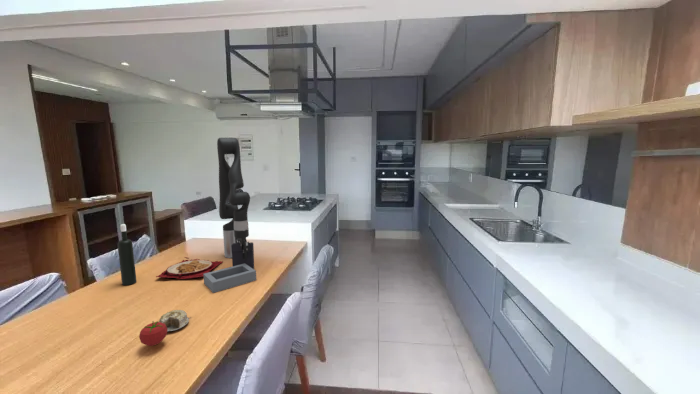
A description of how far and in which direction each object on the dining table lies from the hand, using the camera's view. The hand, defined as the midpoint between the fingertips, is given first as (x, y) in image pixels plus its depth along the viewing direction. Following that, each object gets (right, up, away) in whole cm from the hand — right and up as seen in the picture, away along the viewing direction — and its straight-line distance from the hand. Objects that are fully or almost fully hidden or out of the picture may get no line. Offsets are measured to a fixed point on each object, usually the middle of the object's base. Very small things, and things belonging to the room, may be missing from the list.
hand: (242, 257), depth 160 cm
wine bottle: (-51, -10, -16) cm, 54 cm away
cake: (-7, -15, -51) cm, 54 cm away
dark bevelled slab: (+1, -7, 0) cm, 7 cm away
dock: (-1, -9, -15) cm, 17 cm away
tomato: (-7, -16, -63) cm, 65 cm away
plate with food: (-26, -14, -6) cm, 30 cm away
